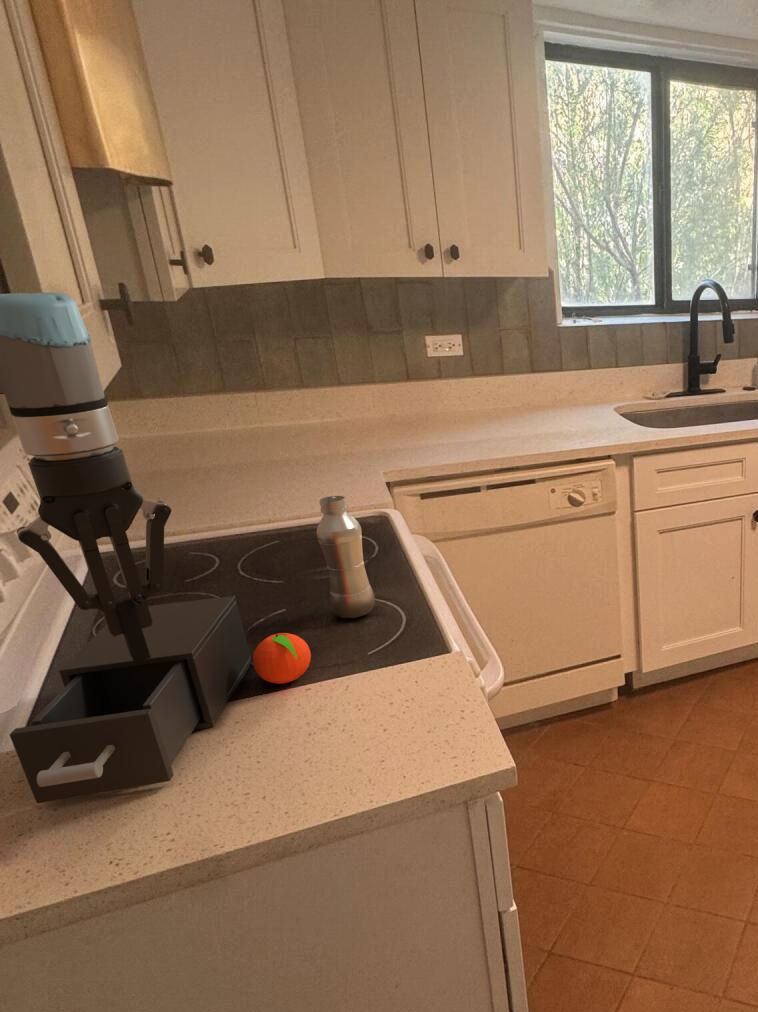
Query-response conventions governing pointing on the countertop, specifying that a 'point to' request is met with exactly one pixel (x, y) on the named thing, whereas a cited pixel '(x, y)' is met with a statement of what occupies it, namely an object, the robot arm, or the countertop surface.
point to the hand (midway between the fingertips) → (140, 655)
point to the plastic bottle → (344, 559)
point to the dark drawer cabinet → (181, 650)
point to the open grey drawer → (109, 731)
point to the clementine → (281, 658)
